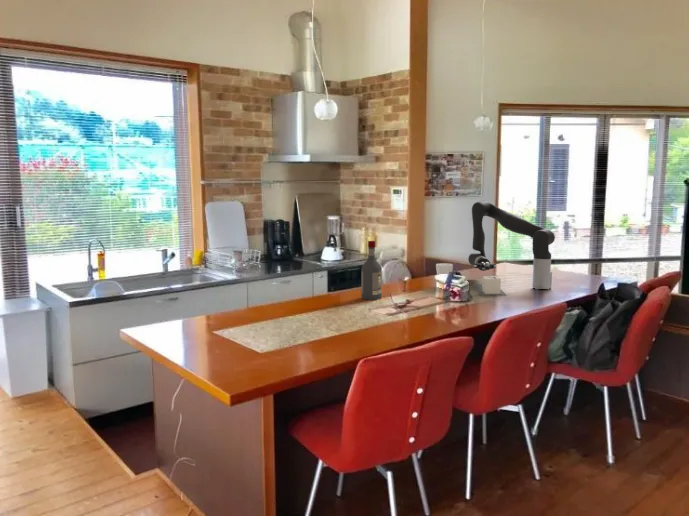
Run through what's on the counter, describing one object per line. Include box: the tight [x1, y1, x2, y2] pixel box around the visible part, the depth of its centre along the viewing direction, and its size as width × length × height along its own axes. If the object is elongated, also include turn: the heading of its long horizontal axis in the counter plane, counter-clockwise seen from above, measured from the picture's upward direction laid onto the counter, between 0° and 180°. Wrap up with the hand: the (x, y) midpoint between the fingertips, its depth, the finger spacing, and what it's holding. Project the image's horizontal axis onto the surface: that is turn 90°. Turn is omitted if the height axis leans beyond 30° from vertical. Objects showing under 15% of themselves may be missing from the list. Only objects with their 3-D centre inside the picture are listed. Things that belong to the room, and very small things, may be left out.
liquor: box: [360, 240, 383, 301], centre depth 302 cm, size 9×9×30 cm
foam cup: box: [435, 263, 454, 276], centre depth 332 cm, size 10×9×13 cm
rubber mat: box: [471, 284, 507, 296], centre depth 323 cm, size 28×14×1 cm, turn 177°
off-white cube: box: [482, 275, 502, 294], centre depth 315 cm, size 8×8×8 cm
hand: (487, 268), depth 325 cm, fingers closed
